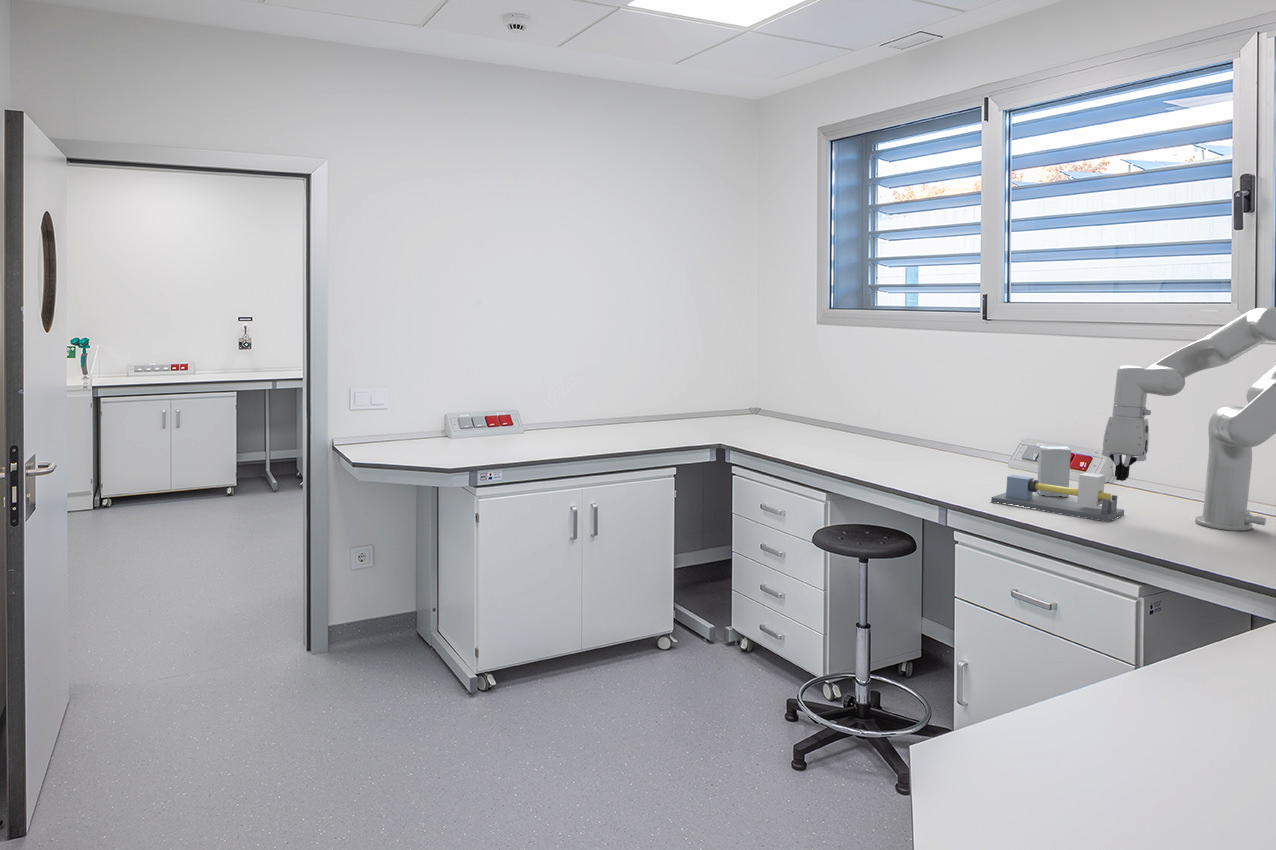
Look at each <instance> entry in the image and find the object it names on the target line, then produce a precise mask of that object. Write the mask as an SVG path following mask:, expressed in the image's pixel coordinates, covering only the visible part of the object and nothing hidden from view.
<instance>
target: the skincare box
mask: <svg viewBox="0 0 1276 850" xmlns="http://www.w3.org/2000/svg"><path fill="white" fill-rule="evenodd" d="M1071 454H1072V449H1070V448H1069V447H1068V446H1067V445H1063V446H1062V445H1060V446H1057V445H1054V446H1053V445H1047V446H1046V445H1039V446H1038V456H1037V457H1038V458H1037V459H1038V463H1037V480H1038V481H1039V483H1041V484H1048V485H1055V486H1061V487H1068V488H1070V473H1071V471H1070V470H1071V456H1072V455H1071ZM1036 493H1037V494H1038V493H1039V494H1040V495H1045V496H1044V497H1059V496H1062V498H1064V497H1065V498H1069V495H1067V494H1060V493H1054V492H1047V491H1041V490H1038V491H1037V492H1036ZM1039 494H1038V495H1039ZM1040 495H1039V496H1040Z"/></svg>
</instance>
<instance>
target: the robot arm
mask: <svg viewBox="0 0 1276 850" xmlns="http://www.w3.org/2000/svg"><path fill="white" fill-rule="evenodd" d="M1265 342H1274V343H1276V306H1262V307H1256V308H1253V309H1251V310H1249V311H1247V312H1246V313H1243V314H1242V315H1240V316H1239V317H1237V318H1235V319H1234V320H1231V321H1230V322H1229V323H1227V324H1225V325H1223V326H1222V327H1220V328H1218V329H1217V330H1215V331H1214V332H1212V333H1210V334H1208V335H1206V336H1205V337H1203V338H1201V339H1198V340H1196V341H1195V342H1192V343H1190V344H1188V345H1186V346H1183V347H1182V348H1179V349H1178V350H1176V351H1173V352H1172V353H1170V354H1168V355H1167V356H1165V357H1163V358H1161V359H1160V360H1158V361H1157V362H1154V363H1153V364H1151V365H1150V366H1149V367H1148V368H1147V367H1145V366H1139V365H1137V366H1136V365H1122V366H1119V367H1118V368H1117V370H1116V371H1117V372H1116V380H1115V387H1114V398H1113V407H1112V413H1111V415H1109V417H1108V419H1107V420H1108V421H1107V423H1106V427H1105V430H1104V435H1103V442H1102V451H1101V455H1102V456H1104V457H1106V458H1109V459H1111V461H1112V462H1113V463H1114V465H1115V469H1114V476H1115V480H1116V481H1121V482H1124V481H1126V480H1127V479H1128V478H1129V475H1130V469H1131V468H1130V466H1132V465H1134V463H1136V462H1144V461H1147V454H1148V452H1149V441H1150V439H1149V438H1150V433H1149V432H1150V429H1149V420H1148V418H1145V417H1146V416H1151V414H1152V410H1150V409H1147V407H1146V405H1147V400H1148V399H1147V397H1148V394H1149V395H1156V396H1162V397H1173V396H1175V395H1177V394H1179V393H1181V392H1182V390H1183V389H1184V388H1185V385H1186V379H1185V378H1188V377H1189V376H1191V375H1193V374H1196V373H1198V372H1201V371H1204V370H1208V369H1209V370H1210V369H1214V368H1217V367H1221V366H1224V365H1227V364H1229V363H1230V362H1233V361H1235V360H1236V359H1237V358H1240V357H1241V356H1242V355H1244V354H1246V353H1248V352H1249V351H1251V350H1253V349H1255V348H1257V347H1258V346H1260V345H1262V344H1263V343H1265ZM1246 400H1247V403H1248V404H1247V405H1245V406H1244V407H1242V406H1239V405H1226V406H1222V407H1220V408H1218V409H1217V410H1215V411H1214V412H1213V413H1212V414H1211V417H1210V418H1209V421H1208V431H1207V432H1208V460H1207V468H1206V469H1207V470H1206V476H1205V477H1206V479H1205V488H1204V489H1205V490H1204V497H1203V498H1204V499H1203V510H1202V515H1198V516H1196V517H1195V520H1194V522H1195V524H1196V523H1197V524H1198V525H1201V526H1204V527H1207V528H1212V529H1217V530H1225V531H1240V532H1243V531H1250V530H1252V529H1253V524H1256V525H1261V526H1266V524H1267V518H1266V517H1263V516H1259V515H1253V514H1251V510H1250V509H1248V502H1249V492H1250V484H1251V483H1250V482H1251V474H1252V473H1251V472H1252V466H1253V465H1252V464H1253V448H1254V447H1257V446H1260V445H1261V444H1264V443H1265V442H1266V441H1268V440H1269V439H1271V437H1272V436H1274V435H1275V434H1276V365H1274V366H1273V367H1272V368H1271V369H1269V371H1267V372H1266V373H1264V375H1262V376H1261V377H1260V378H1259V379H1257V380H1256V381H1254V382H1253V384H1252V385H1250V387H1249V388H1248V390H1247V392H1246ZM1123 456H1125V459H1124V460H1123ZM1123 461H1124V462H1123Z"/></svg>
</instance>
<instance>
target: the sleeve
mask: <svg viewBox="0 0 1276 850" xmlns="http://www.w3.org/2000/svg"><path fill="white" fill-rule="evenodd" d="M1105 477H1106V474H1100V473H1094V472H1092V473H1091V472H1084V473H1081V474H1078V487H1077V489H1078V496H1076V497H1077V498H1076V502H1077V503H1079V504H1086V505H1092V506H1101V505H1102V500H1100V499H1098V494H1099V492H1102V493H1105V492H1104V491H1105V482H1106V481H1105V480H1106V479H1105Z"/></svg>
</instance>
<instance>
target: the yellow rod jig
mask: <svg viewBox="0 0 1276 850" xmlns="http://www.w3.org/2000/svg"><path fill="white" fill-rule="evenodd" d="M1034 478H1035V477H1030V476H1024V475H1016V474H1010V475H1008V476H1006V490H1005V492H1002V493H1000V494H997V495H994V496H991V499H990V500H991V501H990V502H991V503H993V502H999V503H1006V504H1013V505H1019V506H1024V507H1030V508H1036V509H1040V510H1045V511H1044V512H1046V511H1049V512H1048V513H1052V512H1055V513H1054V514H1058V513H1062V514H1061V515H1064V514H1067V515H1066V516H1070V515H1074V516H1073V517H1076V516H1080V517H1079V518H1082V517H1087V518H1086V519H1088V518H1093V519H1092V520H1094V519H1099V520H1098V521H1100V520H1104V521H1103V522H1106V521H1110V520H1112V519H1114V520H1116V519H1118V518H1120V517H1122V516H1121V515H1123V516H1124V515H1125V509H1122V508H1118V505H1117V504H1118V495H1115V494H1111V493H1109V492H1104V493H1102V492H1099V494H1098V499H1100V500H1102V504H1101V505H1098V506H1092V505H1086V504H1079V503H1077V501H1071V500H1066V499H1059V498H1052V497H1048V496H1040V495H1034V494H1033V493H1038V492H1037V491H1038V490H1041V491H1047V492H1054V493H1060V494H1067V495H1068V496H1074V497H1078V488H1074V487H1069V488H1068V487H1061V486H1055V485H1048V484H1041V483H1039V481H1038V479H1034ZM999 503H998V504H999ZM1040 510H1039V511H1040ZM1119 516H1120V517H1119ZM1117 517H1118V518H1117ZM1115 518H1116V519H1115ZM1112 521H1113V520H1112ZM1110 522H1111V521H1110Z"/></svg>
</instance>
